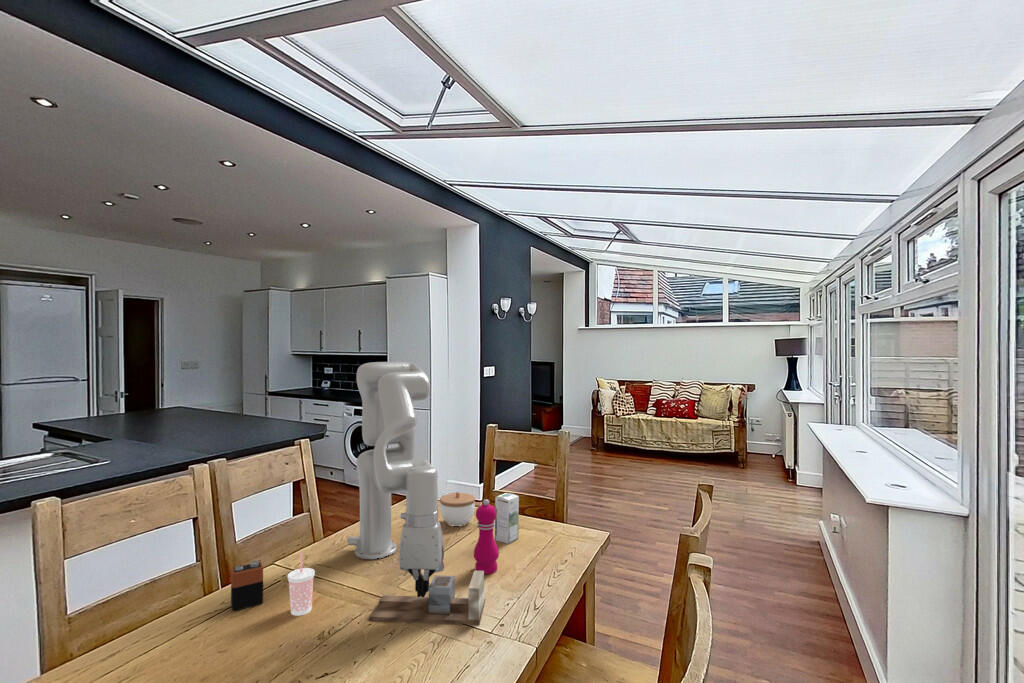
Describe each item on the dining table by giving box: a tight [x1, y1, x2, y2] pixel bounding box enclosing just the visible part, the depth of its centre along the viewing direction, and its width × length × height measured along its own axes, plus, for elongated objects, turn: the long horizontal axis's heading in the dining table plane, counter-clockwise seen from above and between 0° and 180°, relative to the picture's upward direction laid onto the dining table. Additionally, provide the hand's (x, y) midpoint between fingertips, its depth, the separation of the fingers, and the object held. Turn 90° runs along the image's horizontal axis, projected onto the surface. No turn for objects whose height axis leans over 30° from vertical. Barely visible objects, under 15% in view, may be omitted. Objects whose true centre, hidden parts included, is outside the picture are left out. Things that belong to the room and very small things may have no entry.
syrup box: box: [494, 492, 520, 544], centre depth 164 cm, size 6×6×14 cm
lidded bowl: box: [439, 491, 476, 526], centre depth 179 cm, size 13×13×11 cm
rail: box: [368, 570, 486, 625], centre depth 120 cm, size 26×10×8 cm, turn 86°
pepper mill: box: [473, 499, 500, 575], centre depth 142 cm, size 7×7×20 cm
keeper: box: [428, 574, 456, 614], centre depth 120 cm, size 5×6×6 cm
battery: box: [230, 560, 264, 611], centre depth 124 cm, size 4×7×10 cm, turn 123°
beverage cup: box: [287, 552, 316, 617], centre depth 121 cm, size 6×6×14 cm
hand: (422, 594), depth 120 cm, fingers closed
